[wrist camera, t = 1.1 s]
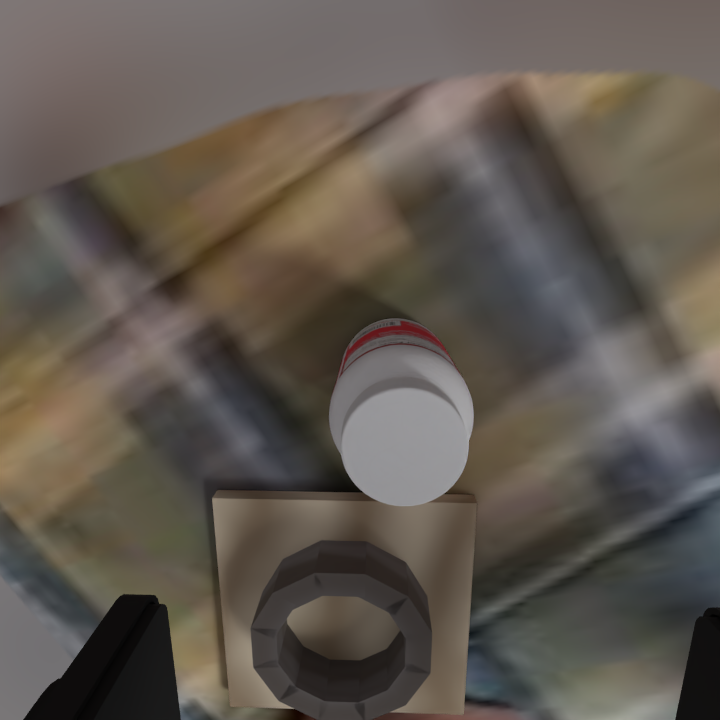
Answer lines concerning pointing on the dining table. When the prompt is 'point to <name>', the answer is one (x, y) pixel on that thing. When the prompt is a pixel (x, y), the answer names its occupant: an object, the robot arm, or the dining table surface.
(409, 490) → the pill bottle
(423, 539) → the socket board
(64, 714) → the robot arm
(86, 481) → the dining table surface
